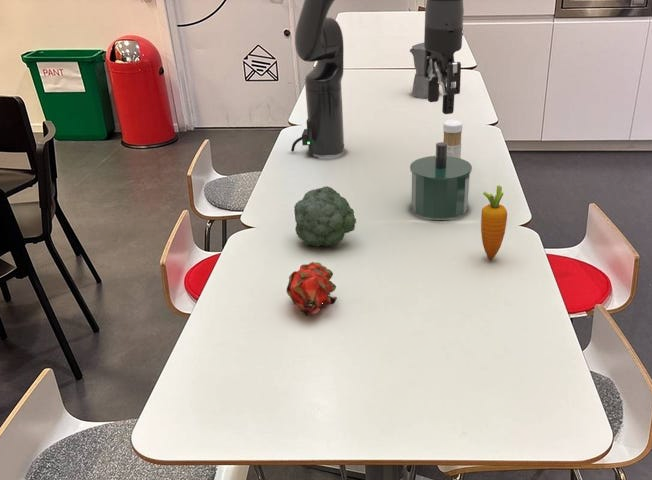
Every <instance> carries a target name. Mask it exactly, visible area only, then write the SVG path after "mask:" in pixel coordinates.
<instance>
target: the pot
mask: <svg viewBox="0 0 652 480" xmlns="http://www.w3.org/2000/svg"><path fill="white" fill-rule="evenodd" d="M470 174H471V173H470ZM470 174H468V175H467V176H465V177H462V178H459V179H454V180H429V179H424V178H421V177H418V176H416V175H414V174H413V173H412V172H411V210H412V211H413V212H414V213H415V214H416V215H418V216H421V217H422V218H428V219H431V221H432V222H447V221H448V222H449V219H453V218H457V217H460V216H462V215H464V214H465V213H466V212H467V211H468V208H469V207H468V206H469V193H470V192H469V189H470Z"/></svg>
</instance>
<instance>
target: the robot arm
mask: <svg viewBox="0 0 652 480" xmlns="http://www.w3.org/2000/svg"><path fill="white" fill-rule="evenodd" d="M335 1H336V0H303V4H302V7H301V10H300V14H299V17H298V20H297V24H296V28H295V32H294V47H295V51H296V54H297V56H298V57H299V58H300V60H302V61H304V62H306V63H313V62H316V64H315V66H313V68H312V70H310V71H309V72H308V73H307V74H306V75H305V78H304V85H305V86H304V87H305V99H306V112H307V118H306V128H304V129H303V131H302V133H301V136H300V137H299V138H296V139H295V140H294V142H293V143H292V145H291V149H290V151H291V152H292V153H294V152H295V148H296V145H297V144H298V143H299V142H301V143H302V146H308V157H313V158H317V159H318V158H334V157H338V156H341V155H343V154H344V153H345V151H346V149H345V137H344V136H345V135H344V133H345V132H344V116H343V115H344V113H343V93H342V92H343V91H342V80H343V78H344V77H343V76H344V36H343V31H342V28H341V26H340V24H339V22H338V21H337V20H336V19H335V18H333V17H329V16H328V13H329V11H330V9H331V7H332V5H333V4H334V3H335ZM464 9H465V8H464V0H426V2H425V10H424V36H423V37H424V39H423V43H424V48H425V64H424V77H425V78H427V83H429V84H428V98H427V101H428V102H429V103H436V102H438V101H439V98H440V97H439V96H440V86H441V89H442V107H441V108H442V109H441V112H442V114H444V115H452V114H453V113H454V110H455V95H459V94H460V93H461V77H462V75H461V73H462V64H461V61H455V53H456V52H459V51H460V50H462V46H463V31H464V30H463V28H464V15H465V14H464V11H465V10H464ZM327 16H328V17H327ZM428 67H429V68H428ZM437 82H438V83H437Z"/></svg>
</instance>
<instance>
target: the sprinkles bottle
mask: <svg viewBox="0 0 652 480" xmlns="http://www.w3.org/2000/svg"><path fill="white" fill-rule="evenodd" d="M442 130H443V142H444V143H447V156H451V157H457V158H460V159H462V158H461V157H462V133H463V132H462V131H463V122H462V121H460V120H459V119H458V120H457V119H449V120H448V119H447V120H445V121H444V122H443V125H442Z"/></svg>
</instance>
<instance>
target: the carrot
mask: <svg viewBox="0 0 652 480" xmlns="http://www.w3.org/2000/svg"><path fill="white" fill-rule="evenodd" d="M482 195H484V197H486V199H487V200H488V201H489V203H488V204H487V205H484V207H482V209H481V216H480V233H481V241H482V245H483V250H484V253H485V254H486V257H487V259H488V260H489V261H492V260H493V259H494V258H495V257H496V256H497V254H498V252H499V251H500V249H501V247H502V243H503V240H504V237H505V233H506V227H507V223H508V222H507V221H508V210H507V208H506V207H505V206H504V205H503V204H500V202H501V200H502V199H503V196H504V192H503V187H502V186H501V185H497V186H496V194H495V195H494V194H493V193H488V192H486V191H484V192H483V194H482Z"/></svg>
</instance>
